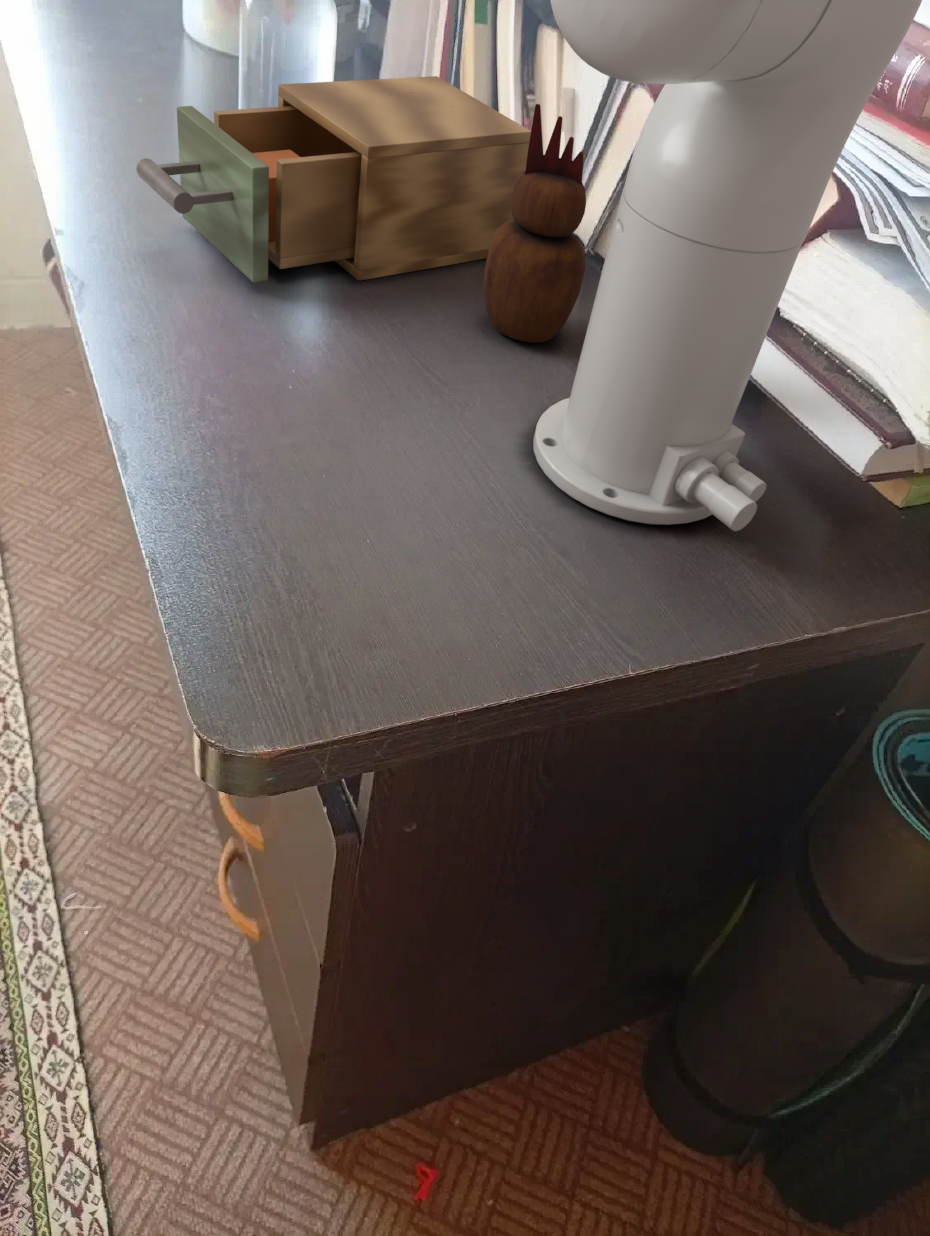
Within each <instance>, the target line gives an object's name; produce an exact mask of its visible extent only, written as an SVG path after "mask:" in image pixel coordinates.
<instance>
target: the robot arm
mask: <svg viewBox="0 0 930 1236" xmlns="http://www.w3.org/2000/svg"><path fill="white" fill-rule="evenodd" d="M922 1H923V0H549V2H550V6H551V10H552V13H553V17H554V20H555V22H556V24H557V28H558V29H559V32H560V34H561V35H562V37H563V39H564V40H565V41H566V43H567V44H568V46H569V47H570V48H571V50H573V52H574V53H575V54H576V55H577V56H578V57H579V59H580V60H582V61H583V62H584V63H586V64H587V65H588V66H590V67H591V68H593V69H594V70H596V71H598V73H601V74H603V75H605V76H607V77H609V78H613V79H616V80H619V81H623V82H628V83H633V84H641V85H642V84H643V85H663V87H662V89H661V91H660V92H659V94H658V96H657V98H656V100H655V101H654V103H653V105H652V107H651V109H650V111H649V113H648V115H647V118H646V120H645V122H644V124H643V127H642V128H641V131H640V134H639V136H638V139H637V142H636V144H635V147H634V150H633V153H632V156H631V159H630V163H629V166H628V169H627V175H626V178H625V182H624V185H623V188H622V192H621V196H620V200H619V203H618V204H619V205H618V206H617V207H618V208H617V212H616V214H615V219H614V223H613V227H612V231H611V235H610V239H609V242H608V246H607V251H606V254H605V258H604V262H603V266H602V270H601V274H600V278H599V282H598V284H597V285H598V286H597V288H596V289H597V290H596V294H595V297H594V301H593V305H592V309H591V313H590V317H589V321H588V324H587V327H586V333H585V337H584V341H583V344H582V347H581V352H580V356H579V360H578V364H577V368H576V372H575V374H574V375H575V376H574V380H573V384H572V387H571V391H570V394H569V397H567V398H564V399H562V400H560V401H558V402H555V403H553V405H551V406H549V407H548V408H547V409H546V410H545V411H544V412H543V413H542V414H541V415H540V417H539V419H538V421H537V423H536V427H535V430H534V435H533V440H532V443H533V447H532V448H533V453H534V456H535V460H536V462H537V464H538V465H539V467H540V468H541V470H542V472H543V473H544V474H545V476H546V477H548V479H549V480H550V481H551V482H552V483H553V484H554V485H555V486H556V487H557V488H558V489H560V490H561V491H563V493H565V494H566V495H568V496H569V497H571V498H572V499H574V500H576V501H578V502H579V503H581V504H583V505H584V506H586V507H588V508H589V509H592V510H595V511H598V512H600V513H602V514H605V515H607V516H611V517H614V518H617V519H621V520H624V521H628V522H634V523H640V524H645V525H659V526H660V525H661V526H662V525H663V526H671V525H682V524H688V523H693V522H698V521H701V520H704V519H706V518H708V517H711V516H713V517H715V518H716V519H718V520H719V521H720V522H721V523H723V524H724V525H725V526H726V527H728V528H729V529H730V530H731V531H733V532H738V531H741V530H742V529H744V528H745V527H746V526H748V524H749V523H750V522H751V521H752V520H753V518H754V516H755V515H756V514H757V510H758V507H759V506H758V504H757V501H759V499H760V498H762V497H763V495H764V494H765V492H766V490H767V486H768V485H767V483H766V482H765V481H764V480H762V479H761V478H759V477H758V476H756V474H754V473H753V472H751V471H750V470H746V469H745V468H744V467H743V466H741V465H740V459H739V458H738V457H737V455H738V453H739V450H740V448H741V447H742V443H743V441H744V439H745V436H746V433H745V432H744V431H743V430H742V429H740V428H739V427H738V426H736V425H735V424H734V423H733V420H734V418H735V417H736V413H737V410H738V408H739V406H740V403H741V400H742V398H743V395H744V392H745V390H746V387H747V385H748V383H749V380H750V377H751V376H752V375H751V374H752V373H753V369H754V367H755V364H756V362H757V360H758V357H759V354H760V352H761V349H762V347H763V344H764V342H765V340H766V337H767V334H768V331H769V329H770V327H771V324H772V322H773V319H774V316H775V314H776V311H777V309H778V306H779V305H780V301H781V299H782V296H783V293H784V291H785V289H786V286H787V283H788V281H789V278H790V276H791V273H792V271H793V268H794V266H795V263H796V261H797V259H798V256H799V253H800V250H801V248H802V246H803V243H804V242H805V240H806V239H807V236H808V233H809V230H810V228H811V225H812V224H813V220H814V218H815V215H816V213H817V211H818V209H819V206H820V204H821V201H822V199H823V196H824V194H825V191H826V188H827V186H828V183H829V181H830V179H831V176H832V174H833V172H834V170H835V167H836V165H837V163H838V161H839V158H840V156H841V154H842V152H843V150H844V147H845V146H846V143H847V142H848V139H849V137H850V136H851V133H852V132H853V129H854V128H855V125H856V123H857V121H858V119H859V117H860V116H861V114H862V112H863V110H864V109H865V107H866V105H867V104H868V101H869V99H870V98H871V95H872V94H873V92H874V90H875V89H876V87H877V85H879V84H878V83H879V82H880V80H881V78H882V77H883V75H884V73H885V72H886V70H887V68H888V67H889V64H890V63H891V61H892V60H893V58H894V56H895V54H896V53H897V52H898V50H899V48H900V45H901V44H902V42H903V40H904V39H905V37H906V35H907V33H908V32H909V29H910V27H911V26H912V23H913V21H914V19H915V18H916V15H917V13H918V11H919V9H920V6H921V4H922Z"/></svg>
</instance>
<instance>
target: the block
mask: <svg viewBox="0 0 930 1236" xmlns="http://www.w3.org/2000/svg"><path fill="white" fill-rule="evenodd" d="M252 154H253V155H255V156H256V157H257V158H258V159H260V160H261V161H262V162H264V163H265V164H266V165H267V166H269V219H268V241H273V240H276V170H277V160H279V159H289V158H300V157H299V156H298V155H297V154H295V153H294V152H293V151H291V150H281V151H269V152H258V153H252Z"/></svg>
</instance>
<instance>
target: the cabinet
mask: <svg viewBox="0 0 930 1236" xmlns="http://www.w3.org/2000/svg"><path fill="white" fill-rule="evenodd" d="M277 87H278V89H277V95H278V96H277V107H284V106H294V107H295V108H297V109H298V110H300V111H301V112H302V113H304V114H305V115H307V116H308V117H309V118H311V119H312V120H314V121H315V122H317V123H318V124H319V125H321V126H322V127H324V128H325V129H326V130H328V131H329V132H331V133H332V134H334V135H335V136H336V137H338V138H339V139H341V140H342V141H344V142H345V143H346V144H348V145H349V146H351V147H352V148H353V149H355V150H356V151H358V152H359V153H361V154H362V159H361V172H360V186H359V200H358V214H357V228H356V242H355V256H354V257H353V258H347V259H340V260H334V262H335V263H336V264H337V265H339V266H340V267H341V268H342V269H343V270H345V271H346V272H347V273H348V274H349V275H350V276H351V277H353V278H354V279H356V280H357V281H366V280H371V279H378V278H383V277H389V276H394V275H400V274H401V275H402V274H406V273H411V272H418V271H423V270H429V269H435V268H441V267H446V266H452V265H458V264H463V263H469V262H475V261H481V260H485V259H486V260H487V256H488V252H489V247H490V243H491V240H492V238H493V235H494V233H495V232H496V231H497V230H498V229H499V228H500V227H501V225H502V224H504V223H506V222H508V221H510V220H514V218H513V215H512V209H511V202H512V192H513V188H514V184H515V182H516V180H517V178H518V176H519V174H521V173H522V172H524V171H525V170H526V162H527V154H528V148H529V141H530V135H531V129H528V128H527V127H526V126H523V124H520V123H518V122H516V121H515V120H513V119H512V118H510V117H508V116H506V115H505V114H503V113H501V112H500V111H498V110H496V109H494V108H492V107H490V106H489V105H487V104H485V103H484V102H482V101H481V100H479V99H477V98H475V97H473V96H472V95H470V94H468V93H467V92H465V91H463V90H462V89H459V88H458V87H456V86H455V85H453V84H452V83H449V82H448V81H446V80H445V79H443V78H441V77H439V76H437V75H431V76H411V77H396V78H395V77H393V78H377V79H374V78H373V79H357V80H339V81H337V80H336V81H317V82H301V83H300V82H298V83H279V84H278V86H277Z"/></svg>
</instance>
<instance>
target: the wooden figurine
mask: <svg viewBox="0 0 930 1236" xmlns="http://www.w3.org/2000/svg"><path fill="white" fill-rule="evenodd" d="M541 109H542V107H541V104H540V103H535V105H534V111H533V116H532V124H531V129H530V131H531V135H530V141H529V148H528V154H527V162H526V168H525V171H524V172H522V173H521V174H519V176H518V178H517V180H516V182H515V184H514V188H513V192H512V202H511V209H512V215H513V218H514V220H510V221H508V222H506V223H504V224H502V225H501V227H500V228H499V229H498V230H497V231H496V232H495V233H494V235H493V238H492V240H491V243H490V247H489V252H488V256H487V258H486V261H485V267H484V276H483V298H484V306H485V310H486V313H487V316H488V319H489V321H490V323H491V324H492V326H493V327H494V328H495V330H496V331H498V332H499V333H501V334H502V335H504V336H506V337H508V338H510V339H513V340H517V341H520V342H525V343H530V344H532V343H533V344H541V343H546V342H548V341H550V340H552V339H554V338H555V336H556V335H557V334H558V333H559V332H560V331H561V329H562V328H564V325H565V324H566V322H567V321H568V319H569V318H570V315H571V314H572V311H573V309H574V306H575V304H576V302H577V300H578V298H579V295H580V291H581V288H582V284H583V280H584V276H585V271H586V264H587V263H586V262H587V261H586V255H585V249H584V247H583V245H582V244H581V242H580V240H579V239H578V238H577V237H576V235H575V234H573V233H575V231H576V230H578V228H579V226H580V225H581V223H582V221H583V218H584V216H585V213H586V207H587V196H586V195H587V194H586V186H585V185H584V183H583V173H584V151H583V150H582V151H579V152H578V153H577V155H576V156H575V157H574V158H573V153H574V143H575V138H574V137H573V136H569V138H568V140H567V143H566V145H565V147H564V149H563V152H562V154H561V156H560V152H561V140H562V130H563V116H561V115H559V116H557V119H556V122H555V125H554V128H553V130H552V133H551V136H550V139H549V141H548V144H547V147H546V150H545V153H544V145H543V142H544V141H543V126H542V111H541Z"/></svg>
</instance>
